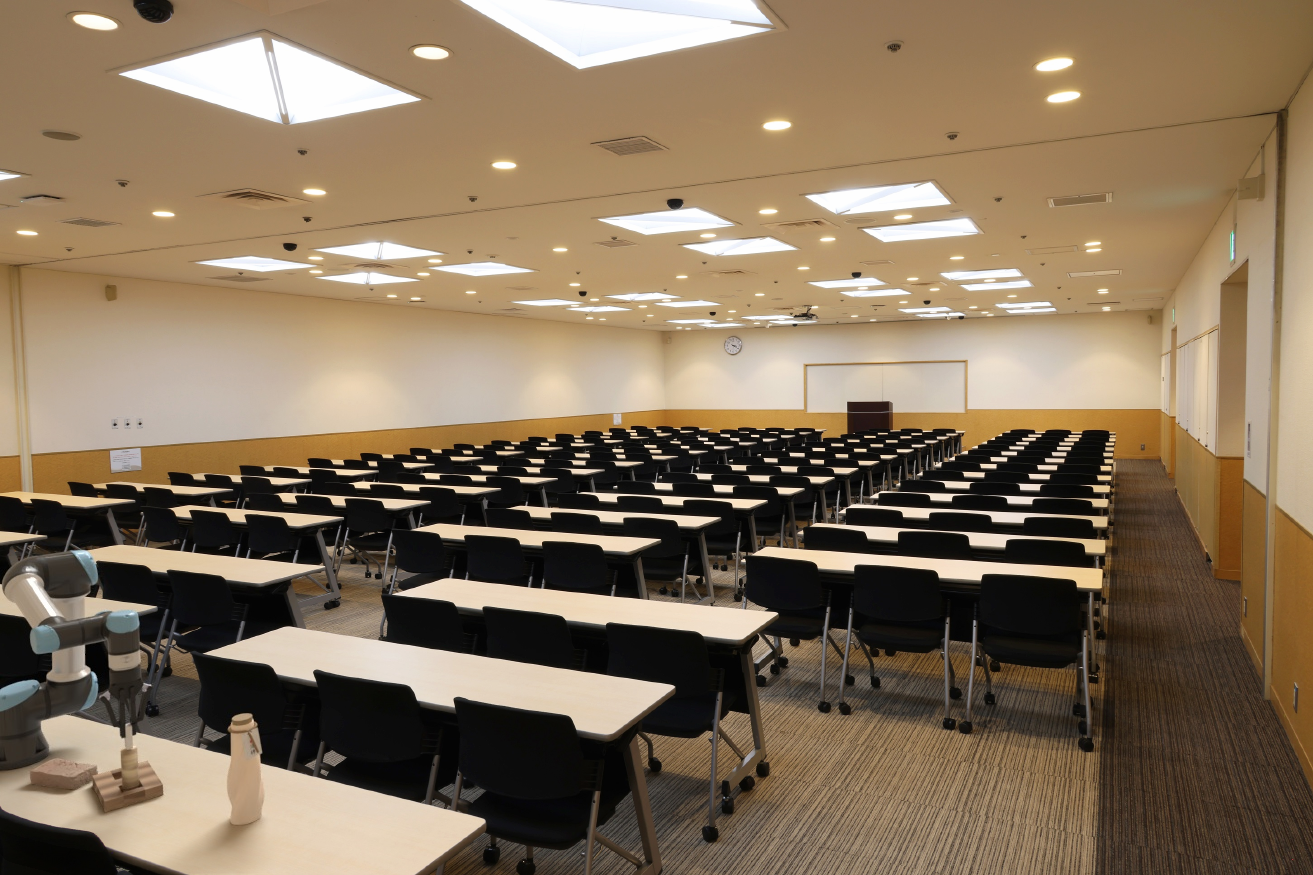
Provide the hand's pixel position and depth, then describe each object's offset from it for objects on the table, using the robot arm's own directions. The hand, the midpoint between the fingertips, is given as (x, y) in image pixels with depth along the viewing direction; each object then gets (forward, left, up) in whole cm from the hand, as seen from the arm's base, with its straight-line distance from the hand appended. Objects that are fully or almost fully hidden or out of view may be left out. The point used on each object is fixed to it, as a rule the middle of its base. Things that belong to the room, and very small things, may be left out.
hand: (128, 747), depth 232 cm
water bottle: (+35, +21, -15) cm, 43 cm away
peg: (0, 0, -14) cm, 14 cm away
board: (-5, 0, -14) cm, 15 cm away
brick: (-24, -12, -15) cm, 31 cm away
